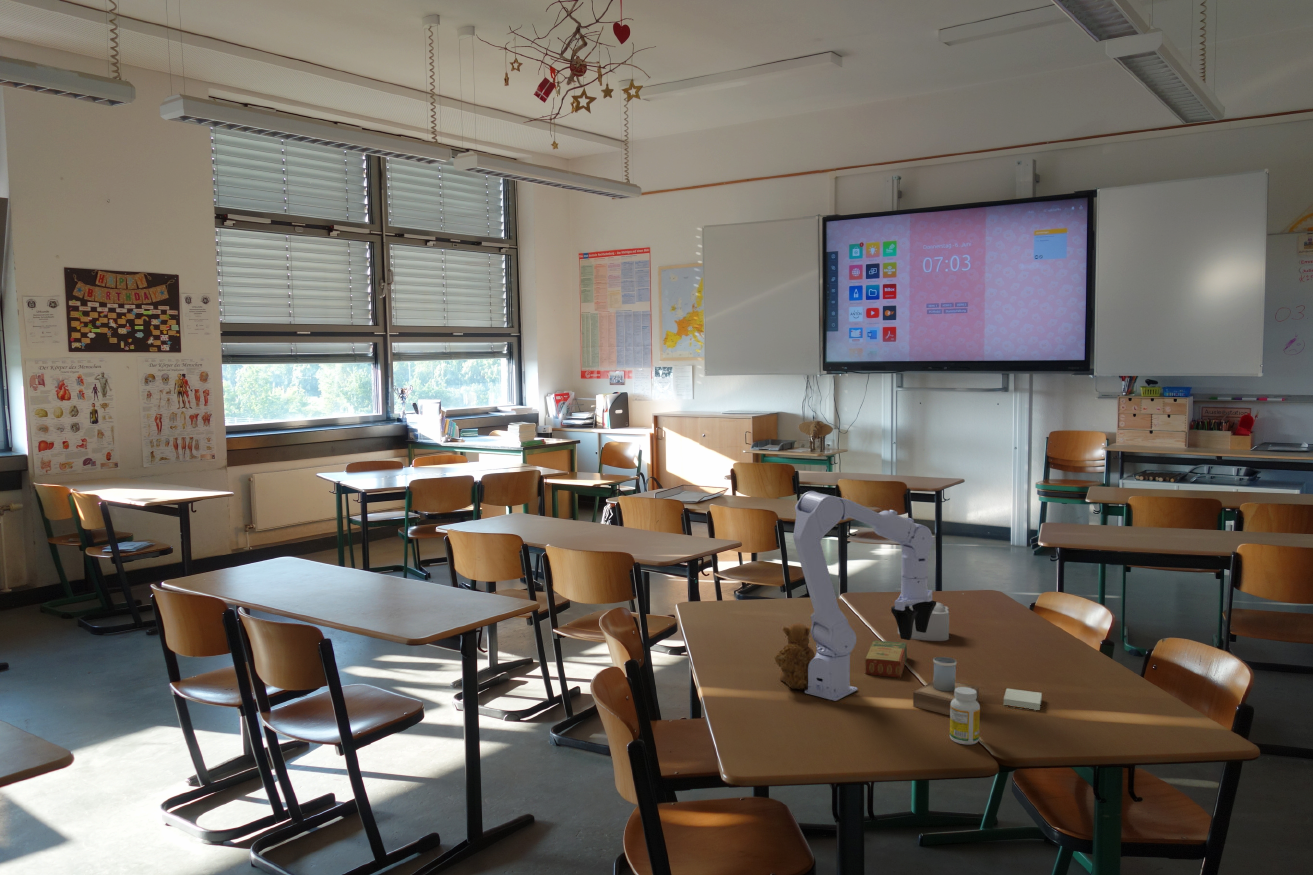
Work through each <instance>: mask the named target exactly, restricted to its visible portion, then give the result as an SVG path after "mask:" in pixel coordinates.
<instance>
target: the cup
mask: <svg viewBox="0 0 1313 875" xmlns="http://www.w3.org/2000/svg"><path fill="white" fill-rule="evenodd" d="M932 663H933V678H932V679H933V680H932V681H933V688H934V689H936V690H939V691H947V692H948V691H954V690H955V682H956V668H957V667H956V666H957V663H958V662H957V660H956V659H955V658H951V657H947V656H936V657H933V659H932Z"/></svg>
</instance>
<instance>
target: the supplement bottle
mask: <svg viewBox="0 0 1313 875" xmlns="http://www.w3.org/2000/svg"><path fill="white" fill-rule="evenodd" d="M954 696H955V699H953V700H952V701H951V705H950V715H949V717H950V718H949V738H950V739H951V741H952V742H955V743H956V744H960V745H966V746H967V745H968V746H969V745H975V744H977V743H979V741H980V724H981V723H980V718H981V717H980V716H981V714H980V713H981V706H980V703H979V701H976V698H977V692H976V690H974V689H972V688H968V687H958V688H955V693H954Z"/></svg>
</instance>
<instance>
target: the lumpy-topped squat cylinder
mask: <svg viewBox="0 0 1313 875" xmlns="http://www.w3.org/2000/svg"><path fill="white" fill-rule="evenodd" d="M910 608H911V610H913V607H912V606H909V609H910ZM949 609H950V608H949V607H948V606H945V605H944V604H943V603H941V602H937V601H936V606H935V608H934V609H933V611H932V614H931V616H930V619H929V623H928V627H927V631H926V633H922V632H917V631H916V627H915V619H914V623H913V629H912V636H911V640H918V641H919V640H920V641H930V642H931V641H932V642H934V641H935V642H944V641H948V640H950V638H949V637H950V611H949ZM897 634H898V635H899V634H900V633H899V629H898V628H897Z"/></svg>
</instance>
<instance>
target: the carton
mask: <svg viewBox="0 0 1313 875" xmlns="http://www.w3.org/2000/svg"><path fill="white" fill-rule="evenodd" d="M907 653H908V649H907V643H906V642H902V641H900V642H899V641H889V640H888V641H887V640H872V643H871V645H870V648H869V650H868V653H867V654H866V657H865V658H864V659H865V660H864V667H865V668H864V671H865V672H864V675H872V676H881V677H882V676H883V677H893V678H901V677H902V675H903V671H904V667H905V665H906V661H907V659H908V654H907Z"/></svg>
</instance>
